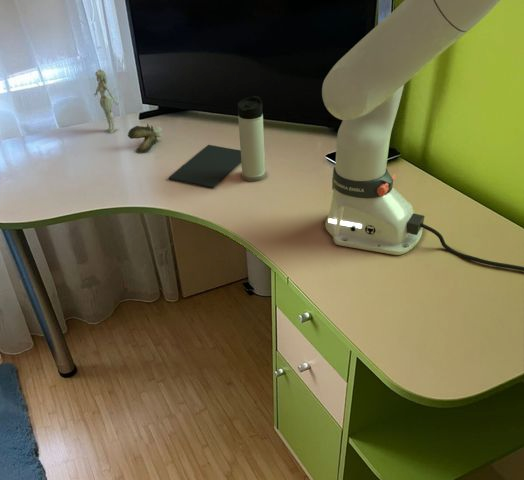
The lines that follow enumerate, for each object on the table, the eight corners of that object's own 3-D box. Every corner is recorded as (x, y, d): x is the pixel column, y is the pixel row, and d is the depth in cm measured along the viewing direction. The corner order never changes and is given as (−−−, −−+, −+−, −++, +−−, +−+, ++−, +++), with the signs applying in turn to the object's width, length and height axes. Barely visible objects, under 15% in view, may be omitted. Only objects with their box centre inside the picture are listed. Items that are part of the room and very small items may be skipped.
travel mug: (270, 173, 152) (267, 98, 138) (257, 183, 149) (253, 107, 135) (251, 168, 155) (246, 94, 141) (238, 178, 151) (232, 103, 137)
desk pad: (250, 154, 161) (250, 152, 161) (212, 188, 148) (212, 186, 147) (208, 146, 166) (208, 144, 166) (168, 179, 152) (168, 177, 152)
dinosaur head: (142, 134, 172) (123, 140, 165) (151, 115, 167) (131, 121, 160) (160, 151, 172) (141, 158, 165) (169, 133, 167) (150, 139, 160)
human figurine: (97, 127, 180) (82, 68, 167) (106, 123, 182) (92, 64, 169) (119, 137, 174) (105, 76, 161) (129, 133, 176) (116, 72, 163)
